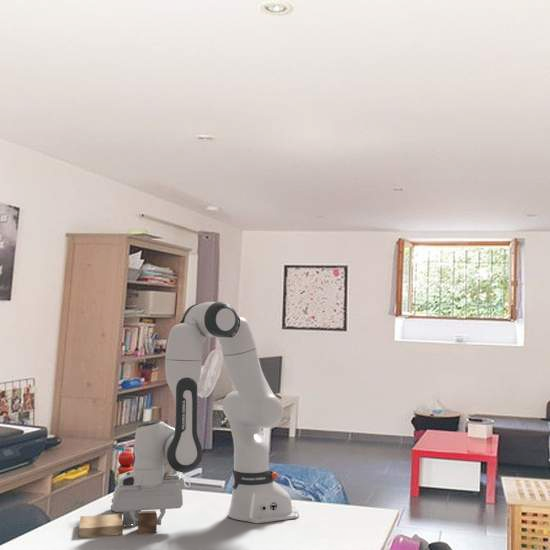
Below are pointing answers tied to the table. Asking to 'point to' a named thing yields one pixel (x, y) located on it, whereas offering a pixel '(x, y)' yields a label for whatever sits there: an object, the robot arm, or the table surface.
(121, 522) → the base board
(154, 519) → the walnut block
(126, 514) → the slate block
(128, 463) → the stacking toy
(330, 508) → the table surface
